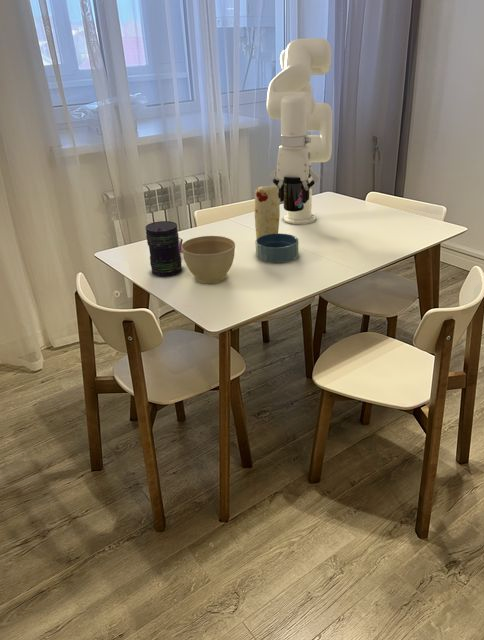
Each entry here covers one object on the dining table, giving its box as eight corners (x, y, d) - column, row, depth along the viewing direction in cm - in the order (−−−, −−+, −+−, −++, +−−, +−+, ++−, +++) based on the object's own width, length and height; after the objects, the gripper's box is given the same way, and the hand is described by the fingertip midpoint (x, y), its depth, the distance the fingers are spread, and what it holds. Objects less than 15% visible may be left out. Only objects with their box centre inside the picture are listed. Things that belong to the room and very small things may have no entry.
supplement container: (292, 213, 166) (292, 179, 160) (279, 208, 171) (278, 175, 165) (309, 209, 169) (309, 175, 164) (295, 204, 174) (295, 171, 168)
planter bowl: (194, 292, 158) (190, 257, 152) (179, 273, 171) (175, 240, 165) (244, 282, 163) (243, 248, 158) (226, 264, 176) (224, 232, 170)
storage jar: (155, 265, 177) (148, 221, 169) (184, 265, 177) (179, 220, 169) (148, 277, 169) (141, 231, 161) (179, 277, 168) (174, 231, 160)
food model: (261, 246, 189) (260, 189, 179) (251, 241, 194) (248, 185, 184) (284, 240, 194) (283, 184, 184) (273, 235, 199) (272, 180, 188)
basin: (264, 247, 189) (264, 231, 186) (303, 250, 185) (303, 235, 182) (250, 261, 178) (249, 245, 175) (291, 266, 173) (291, 249, 170)
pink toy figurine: (167, 232, 185) (179, 239, 179) (180, 234, 188) (193, 240, 182) (163, 251, 187) (176, 258, 181) (176, 252, 191) (189, 259, 184)
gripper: (325, 140, 160) (323, 199, 169) (270, 138, 165) (271, 196, 174) (319, 145, 154) (317, 206, 163) (262, 143, 159) (264, 203, 168)
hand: (293, 200), depth 169 cm, fingers closed on supplement container, 6 cm apart
